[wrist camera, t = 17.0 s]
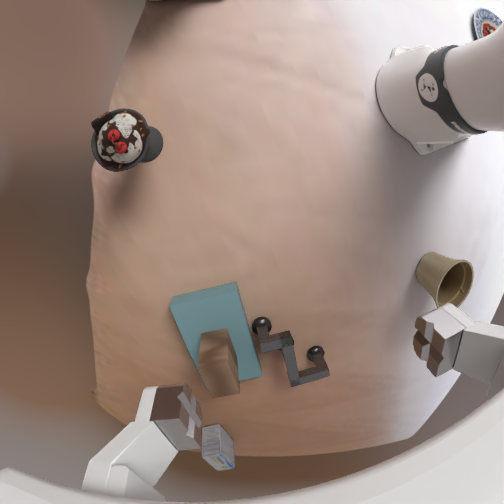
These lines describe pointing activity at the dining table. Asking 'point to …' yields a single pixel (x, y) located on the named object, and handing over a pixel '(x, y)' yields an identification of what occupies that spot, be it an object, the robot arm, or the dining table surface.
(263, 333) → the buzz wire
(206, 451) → the medicine box
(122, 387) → the dining table surface
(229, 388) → the walnut block
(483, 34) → the ceramic plate
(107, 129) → the sundae
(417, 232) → the dining table surface
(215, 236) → the dining table surface
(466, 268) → the flower pot
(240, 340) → the platform
